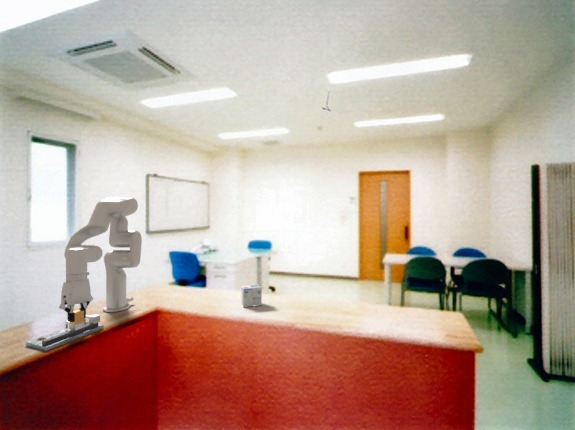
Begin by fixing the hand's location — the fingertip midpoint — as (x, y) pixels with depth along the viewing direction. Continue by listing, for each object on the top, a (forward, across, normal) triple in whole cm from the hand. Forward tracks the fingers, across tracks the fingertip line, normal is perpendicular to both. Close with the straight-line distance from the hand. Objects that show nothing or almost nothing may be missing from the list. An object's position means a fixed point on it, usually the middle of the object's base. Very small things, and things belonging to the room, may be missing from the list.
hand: (76, 319), depth 132 cm
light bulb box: (+7, -66, +49) cm, 83 cm away
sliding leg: (+5, 0, -3) cm, 6 cm away
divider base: (+7, +2, -3) cm, 8 cm away
